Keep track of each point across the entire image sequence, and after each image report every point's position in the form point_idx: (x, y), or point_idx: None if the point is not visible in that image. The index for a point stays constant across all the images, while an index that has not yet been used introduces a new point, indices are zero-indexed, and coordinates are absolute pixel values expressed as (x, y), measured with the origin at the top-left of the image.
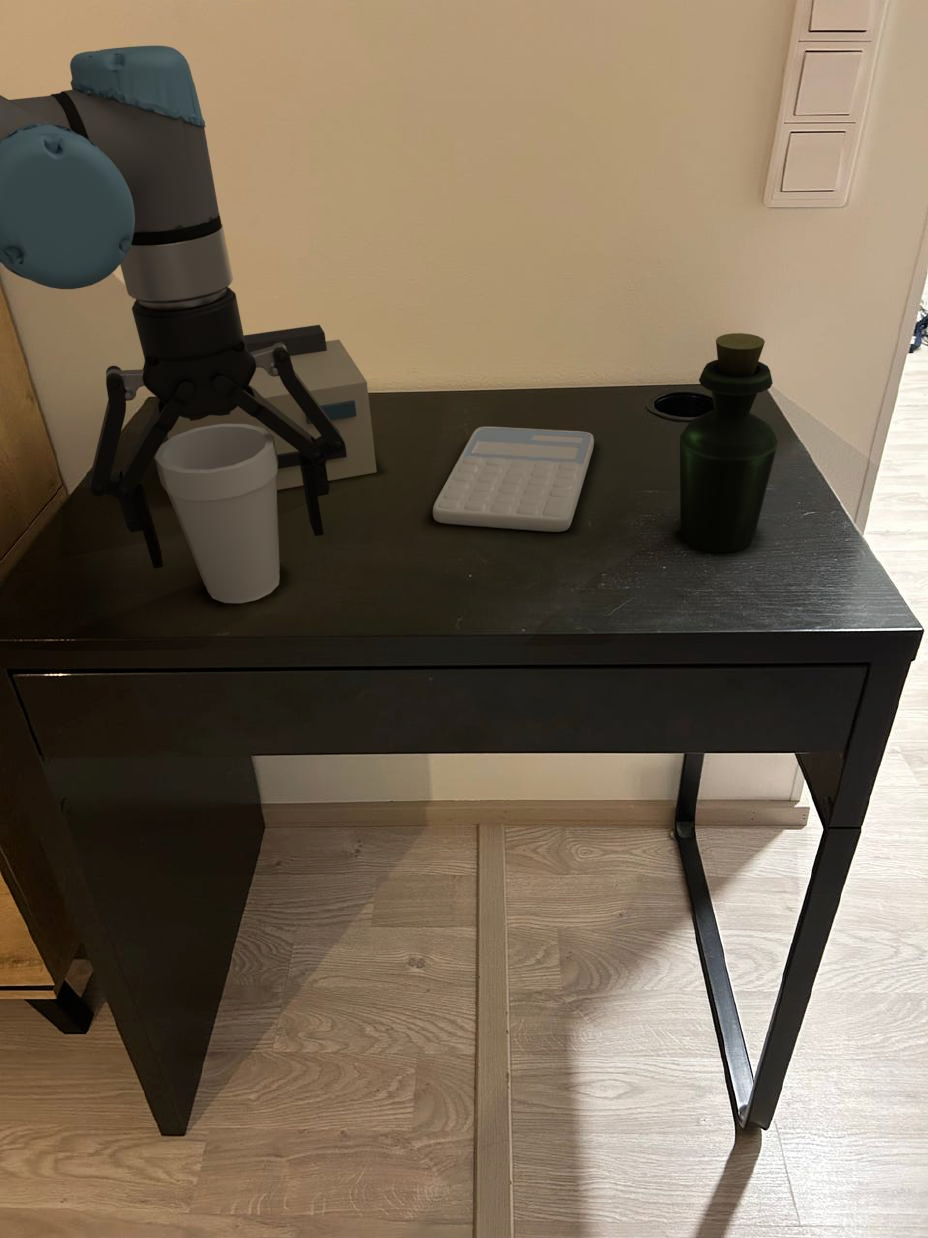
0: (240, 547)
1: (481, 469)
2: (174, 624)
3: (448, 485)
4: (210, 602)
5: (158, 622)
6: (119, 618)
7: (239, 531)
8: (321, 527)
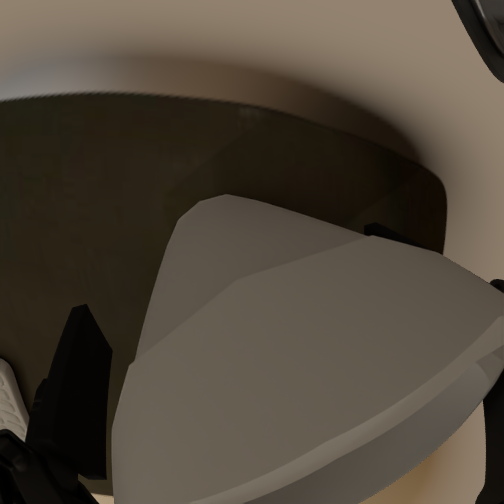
0: (230, 214)
1: (4, 422)
2: (320, 156)
3: (15, 409)
4: (274, 205)
5: (340, 167)
6: (379, 189)
7: (235, 225)
8: (69, 316)
